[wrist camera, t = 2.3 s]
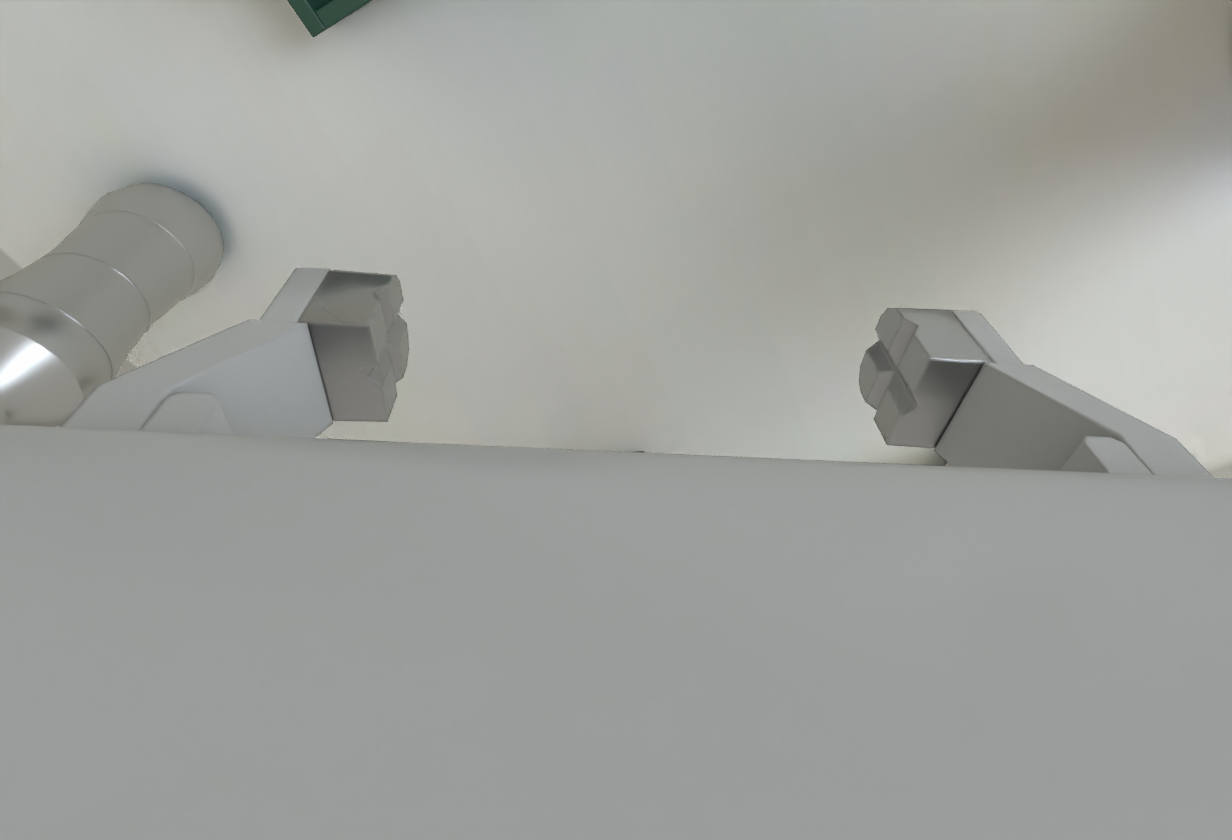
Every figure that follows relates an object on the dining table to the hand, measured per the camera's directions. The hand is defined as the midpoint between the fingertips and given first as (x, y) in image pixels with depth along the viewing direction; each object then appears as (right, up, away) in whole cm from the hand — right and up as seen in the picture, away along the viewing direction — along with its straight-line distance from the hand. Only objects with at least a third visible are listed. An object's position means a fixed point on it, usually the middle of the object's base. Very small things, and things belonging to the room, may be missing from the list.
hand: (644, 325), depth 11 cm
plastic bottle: (-27, +11, +29) cm, 41 cm away
